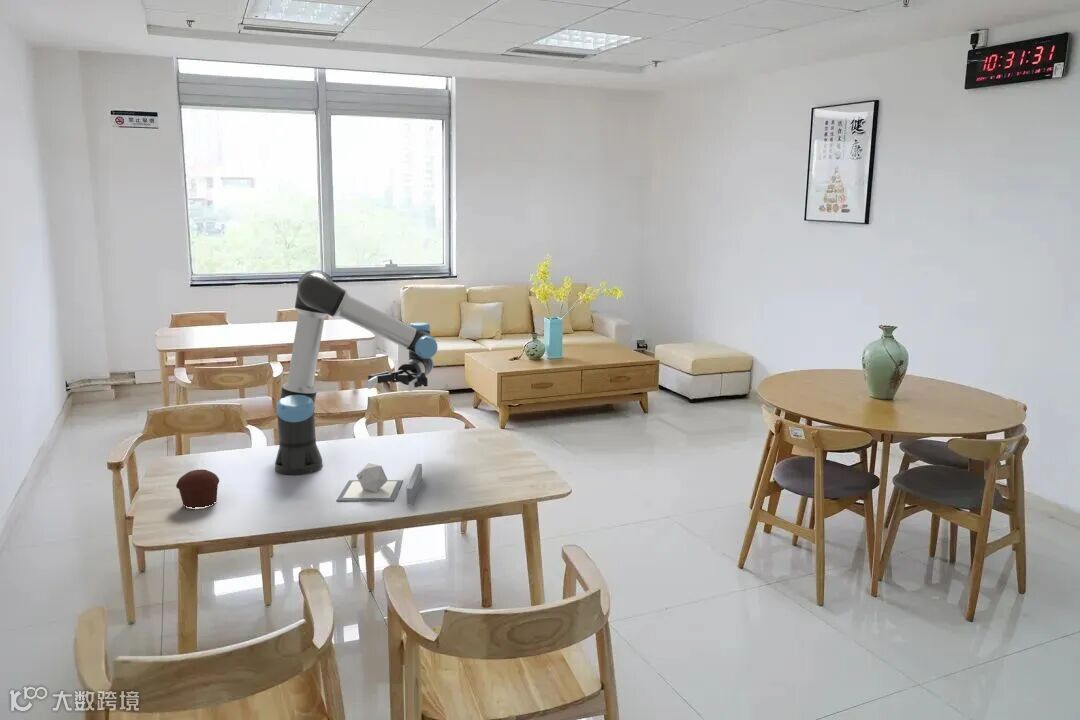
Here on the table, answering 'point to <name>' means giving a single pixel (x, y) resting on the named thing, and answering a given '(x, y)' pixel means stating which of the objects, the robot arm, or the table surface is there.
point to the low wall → (414, 484)
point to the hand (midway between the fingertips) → (389, 385)
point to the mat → (369, 492)
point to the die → (372, 477)
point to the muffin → (198, 488)
